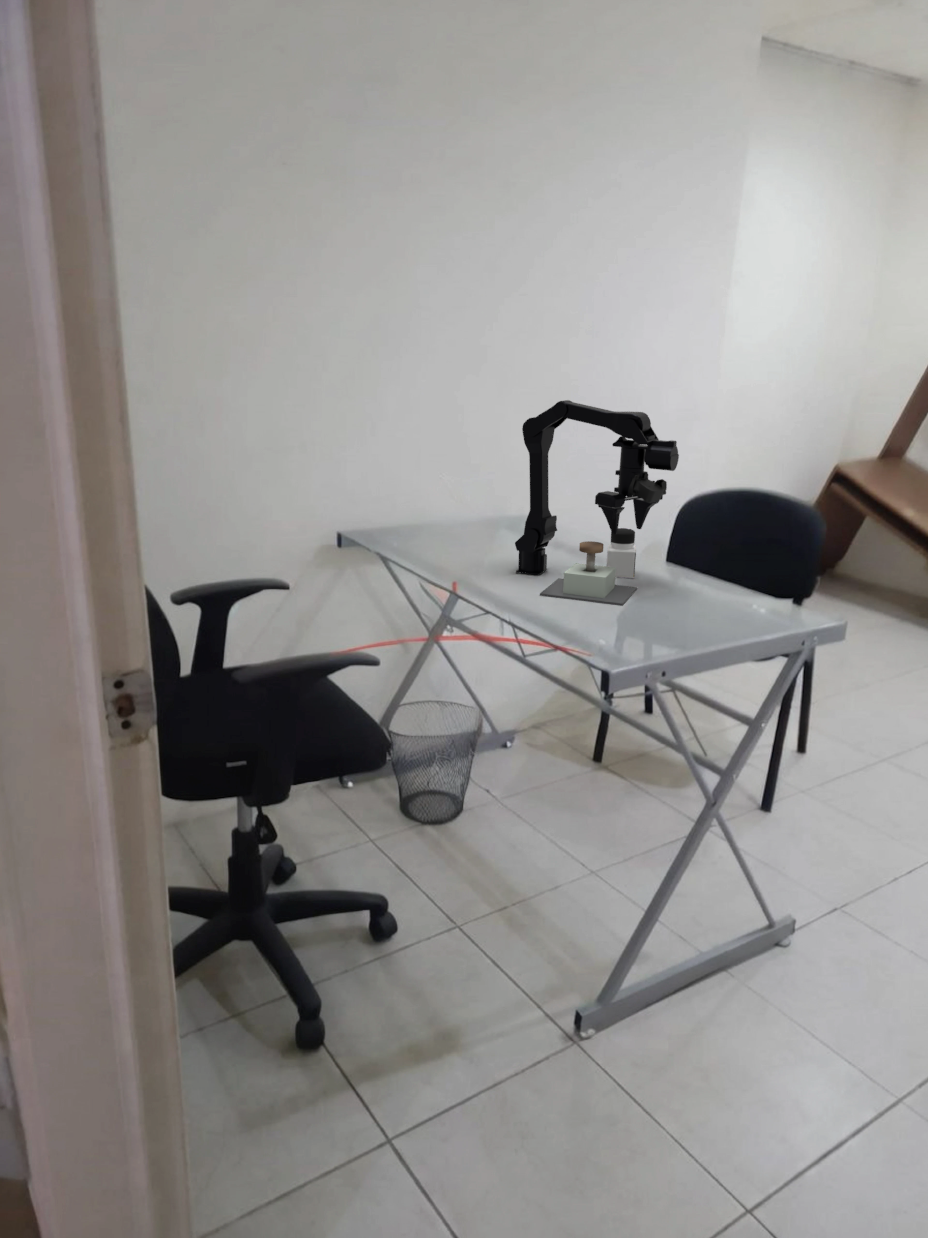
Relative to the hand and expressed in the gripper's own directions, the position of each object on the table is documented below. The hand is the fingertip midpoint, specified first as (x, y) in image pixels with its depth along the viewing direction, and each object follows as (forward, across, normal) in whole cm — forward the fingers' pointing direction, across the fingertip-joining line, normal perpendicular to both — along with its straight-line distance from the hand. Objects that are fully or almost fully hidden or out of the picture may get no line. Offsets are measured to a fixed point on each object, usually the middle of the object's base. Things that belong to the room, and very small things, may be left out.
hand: (626, 531), depth 209 cm
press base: (+14, -11, +2) cm, 17 cm away
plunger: (+9, -11, +2) cm, 14 cm away
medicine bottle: (+14, +8, +8) cm, 18 cm away
